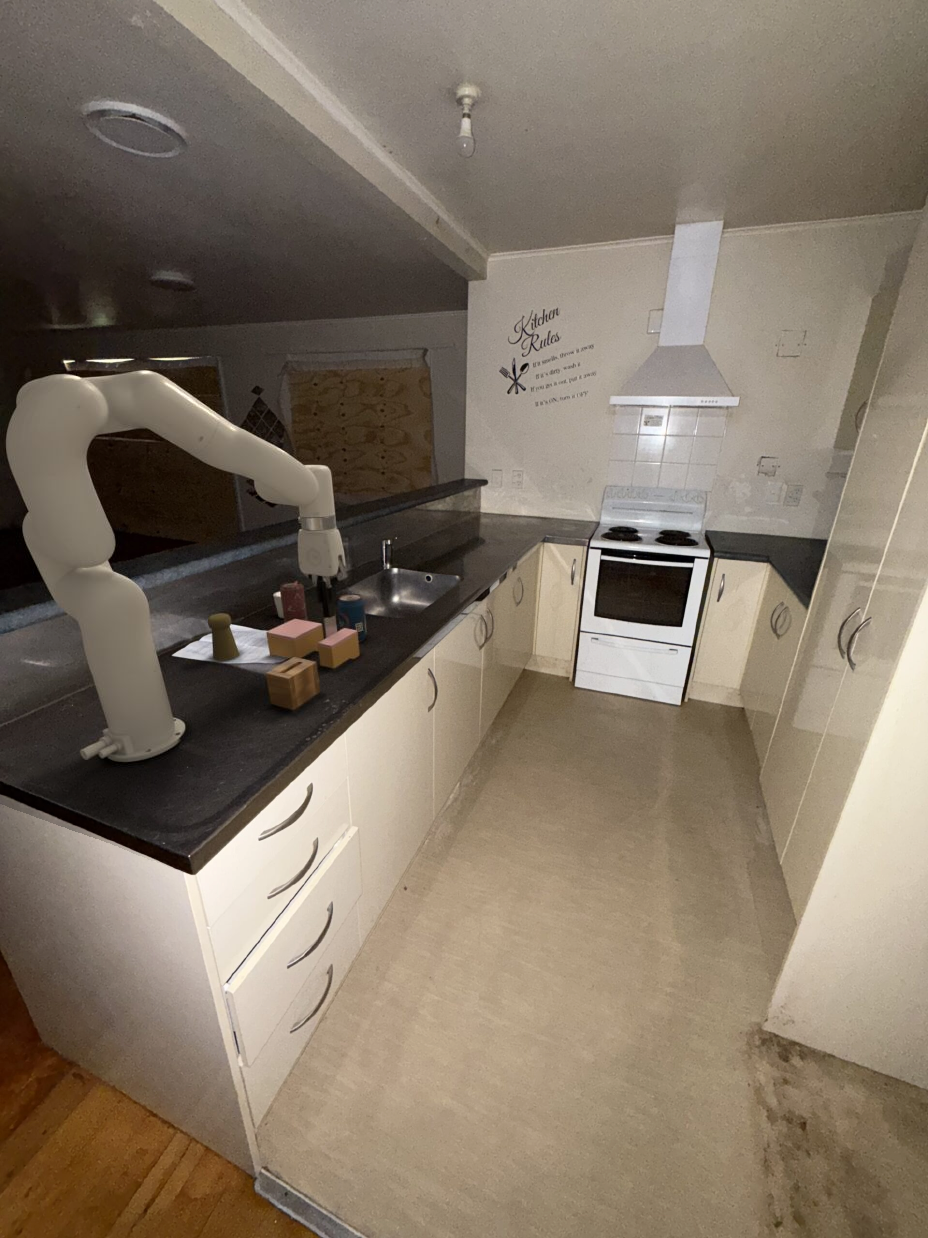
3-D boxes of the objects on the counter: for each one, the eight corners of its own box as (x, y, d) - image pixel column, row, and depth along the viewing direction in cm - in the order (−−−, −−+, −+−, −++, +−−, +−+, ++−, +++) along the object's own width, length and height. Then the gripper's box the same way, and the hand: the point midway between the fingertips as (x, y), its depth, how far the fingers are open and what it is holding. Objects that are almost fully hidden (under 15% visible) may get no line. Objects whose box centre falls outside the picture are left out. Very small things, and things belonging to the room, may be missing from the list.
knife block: (294, 714, 96) (288, 678, 94) (271, 707, 99) (265, 672, 96) (320, 695, 103) (316, 661, 100) (298, 689, 106) (294, 656, 103)
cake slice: (334, 672, 113) (331, 645, 111) (320, 669, 115) (317, 642, 112) (359, 655, 122) (357, 630, 119) (346, 652, 123) (344, 627, 121)
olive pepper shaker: (207, 659, 120) (198, 618, 116) (224, 649, 125) (216, 609, 121) (228, 662, 118) (220, 620, 114) (244, 652, 124) (237, 611, 120)
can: (312, 627, 140) (306, 580, 134) (303, 635, 134) (297, 587, 129) (292, 626, 140) (285, 580, 135) (282, 635, 134) (275, 586, 129)
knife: (331, 662, 117) (322, 582, 110) (325, 660, 118) (316, 581, 111) (342, 655, 120) (333, 578, 113) (336, 654, 121) (327, 577, 114)
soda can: (336, 638, 132) (332, 596, 128) (359, 631, 136) (355, 591, 132) (349, 646, 127) (344, 603, 123) (372, 639, 131) (368, 597, 127)
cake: (297, 663, 118) (294, 637, 115) (270, 657, 121) (265, 631, 119) (324, 647, 126) (322, 623, 124) (298, 642, 130) (294, 618, 127)
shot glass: (294, 609, 154) (291, 588, 151) (303, 615, 149) (300, 593, 146) (273, 614, 150) (269, 592, 147) (281, 620, 145) (277, 598, 142)
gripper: (278, 523, 107) (290, 602, 114) (336, 529, 101) (344, 611, 108) (302, 518, 113) (311, 593, 120) (358, 523, 107) (364, 601, 114)
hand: (327, 601), depth 114 cm, fingers closed on knife, 1 cm apart
